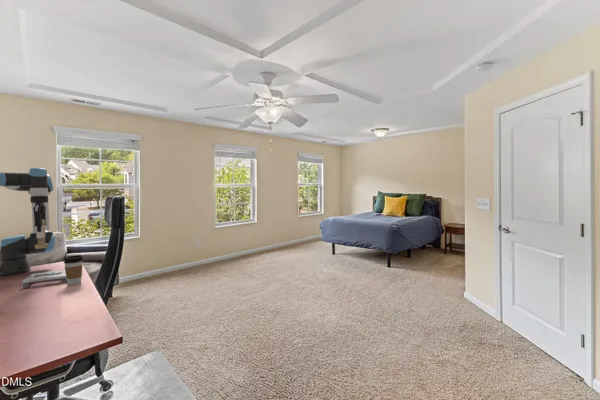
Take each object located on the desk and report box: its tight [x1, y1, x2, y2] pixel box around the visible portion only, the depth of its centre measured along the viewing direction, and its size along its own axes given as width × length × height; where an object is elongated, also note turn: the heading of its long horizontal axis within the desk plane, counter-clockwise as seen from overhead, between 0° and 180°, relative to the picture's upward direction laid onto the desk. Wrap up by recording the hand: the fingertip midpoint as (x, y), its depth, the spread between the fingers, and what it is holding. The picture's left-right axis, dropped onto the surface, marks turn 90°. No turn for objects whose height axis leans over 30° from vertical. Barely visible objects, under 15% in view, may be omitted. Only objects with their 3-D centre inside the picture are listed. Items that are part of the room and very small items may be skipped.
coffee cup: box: [63, 254, 84, 287], centre depth 160 cm, size 8×8×15 cm
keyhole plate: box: [21, 269, 67, 289], centre depth 166 cm, size 16×20×4 cm
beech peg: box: [35, 219, 48, 249], centre depth 166 cm, size 6×6×16 cm
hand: (41, 237), depth 166 cm, fingers closed on beech peg, 3 cm apart
